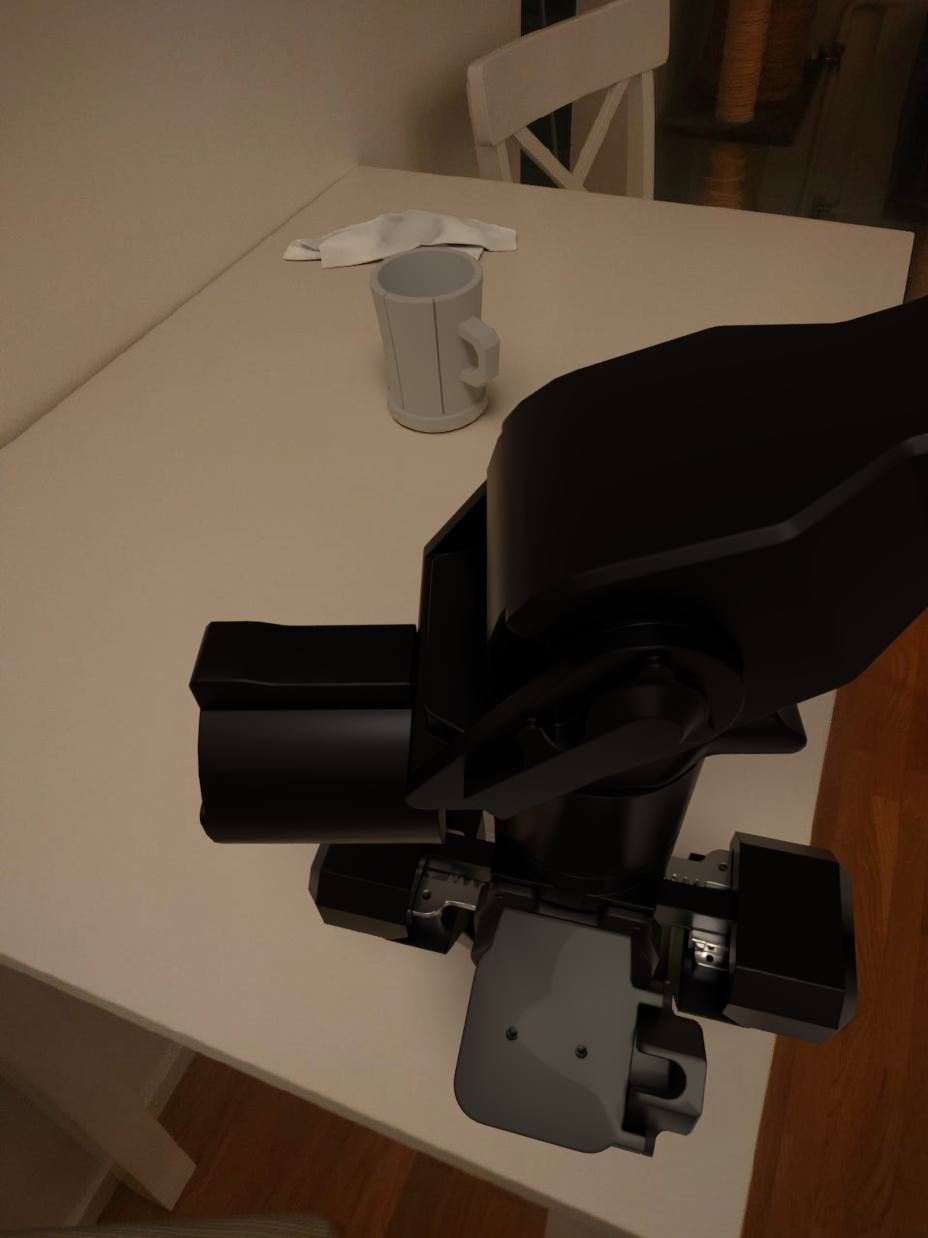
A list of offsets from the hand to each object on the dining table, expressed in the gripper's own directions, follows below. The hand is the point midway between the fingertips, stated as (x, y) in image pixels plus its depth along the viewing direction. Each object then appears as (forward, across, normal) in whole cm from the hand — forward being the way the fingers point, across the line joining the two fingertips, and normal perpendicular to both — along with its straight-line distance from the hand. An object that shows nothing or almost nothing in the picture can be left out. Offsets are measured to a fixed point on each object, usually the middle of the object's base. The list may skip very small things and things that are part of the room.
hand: (562, 963), depth 36 cm
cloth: (+5, -31, +76) cm, 82 cm away
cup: (+5, -18, +46) cm, 50 cm away
